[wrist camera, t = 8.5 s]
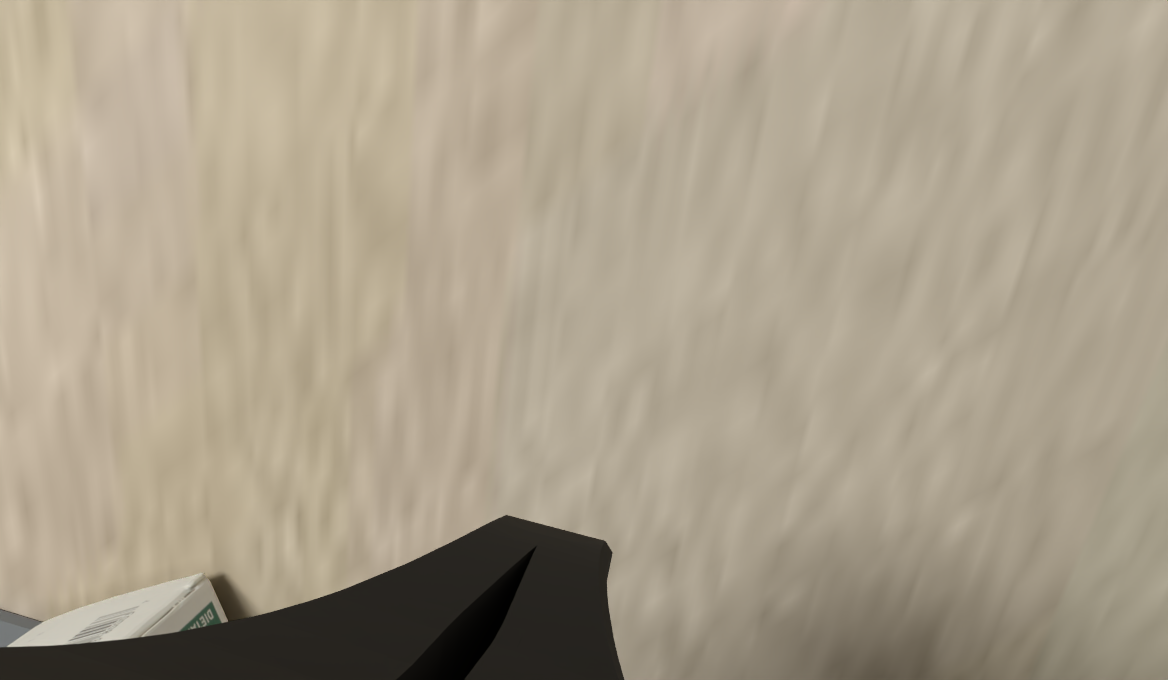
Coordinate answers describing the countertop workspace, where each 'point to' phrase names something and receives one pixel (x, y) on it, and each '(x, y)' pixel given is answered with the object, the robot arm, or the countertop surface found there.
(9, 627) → the mat
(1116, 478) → the countertop surface
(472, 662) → the robot arm
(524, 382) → the countertop surface
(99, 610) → the syrup box
